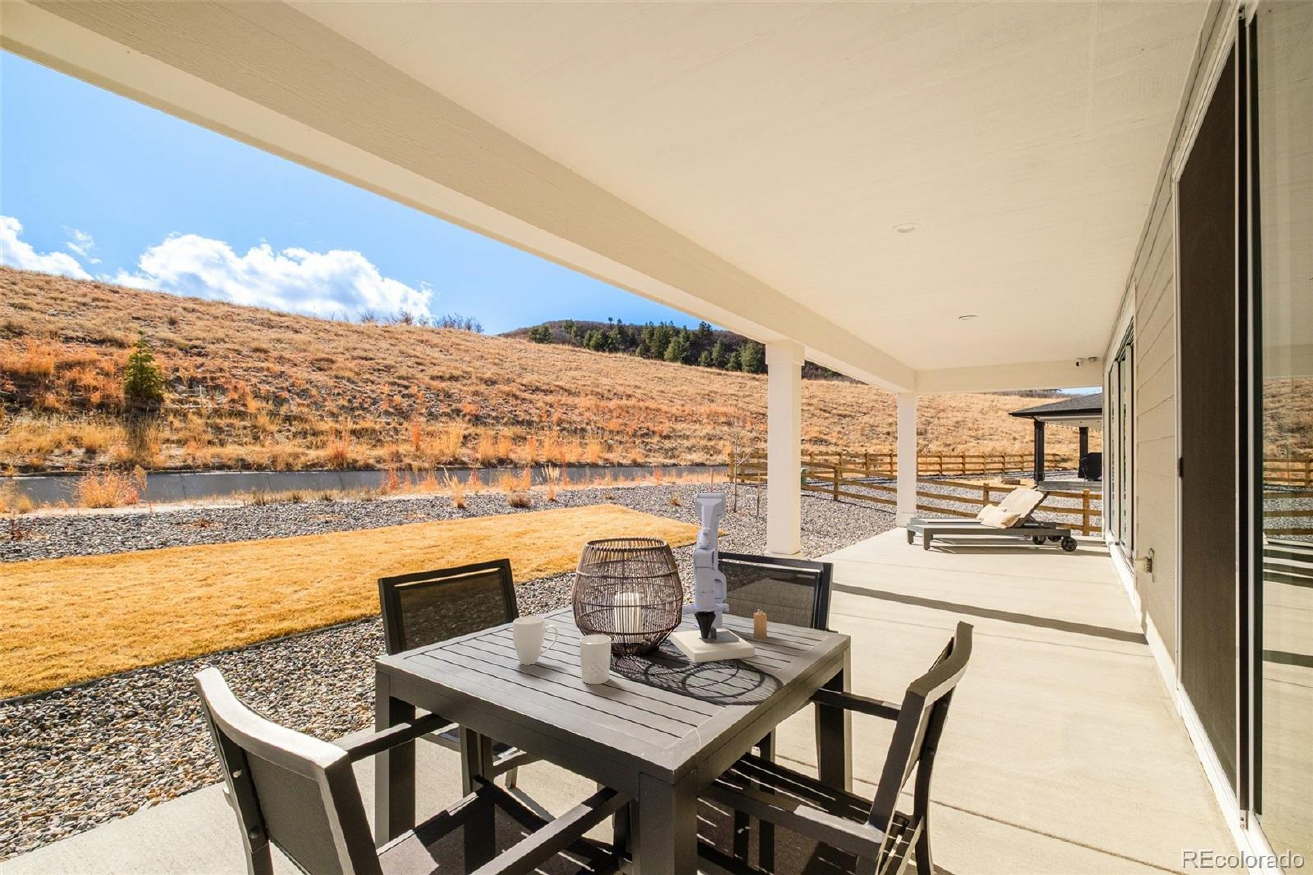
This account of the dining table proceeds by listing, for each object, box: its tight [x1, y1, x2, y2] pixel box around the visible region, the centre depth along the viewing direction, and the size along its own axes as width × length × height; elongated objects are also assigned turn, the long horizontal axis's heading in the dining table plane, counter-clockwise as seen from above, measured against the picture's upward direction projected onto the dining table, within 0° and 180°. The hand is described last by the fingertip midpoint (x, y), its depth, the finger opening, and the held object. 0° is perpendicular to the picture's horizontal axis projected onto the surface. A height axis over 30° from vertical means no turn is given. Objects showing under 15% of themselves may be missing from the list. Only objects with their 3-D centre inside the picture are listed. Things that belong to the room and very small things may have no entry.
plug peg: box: [753, 608, 768, 640], centre depth 184 cm, size 4×4×8 cm
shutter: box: [708, 626, 739, 643], centre depth 173 cm, size 8×8×3 cm
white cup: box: [579, 634, 612, 685], centre depth 148 cm, size 8×8×10 cm
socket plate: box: [670, 627, 756, 664], centre depth 172 cm, size 20×18×2 cm
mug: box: [512, 615, 559, 666], centre depth 160 cm, size 12×8×11 cm
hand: (704, 637), depth 172 cm, fingers closed
